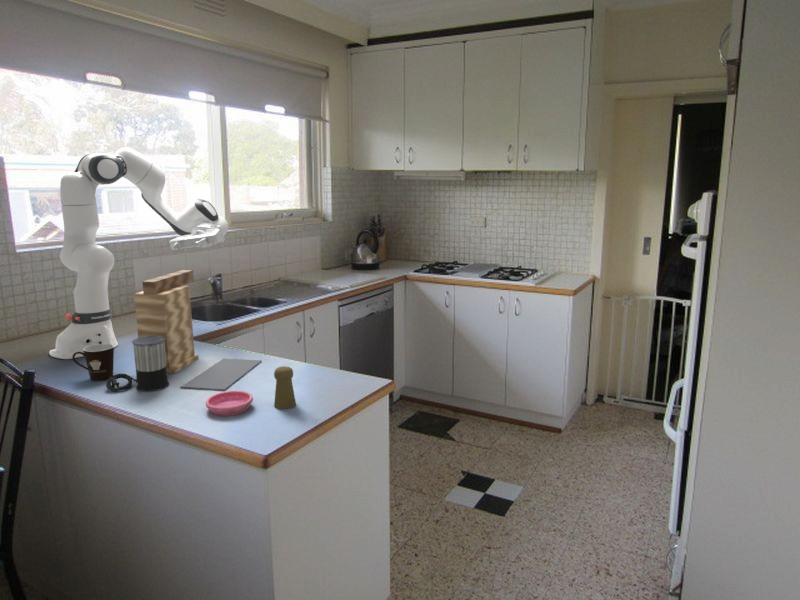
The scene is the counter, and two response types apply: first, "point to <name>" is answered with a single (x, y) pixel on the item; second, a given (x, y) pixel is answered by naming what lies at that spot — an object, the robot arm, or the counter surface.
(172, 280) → the walnut bar
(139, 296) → the oak block
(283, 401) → the cork
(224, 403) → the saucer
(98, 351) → the coffee mug
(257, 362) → the rubber mat
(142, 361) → the milk frother
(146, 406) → the counter surface
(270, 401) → the counter surface
